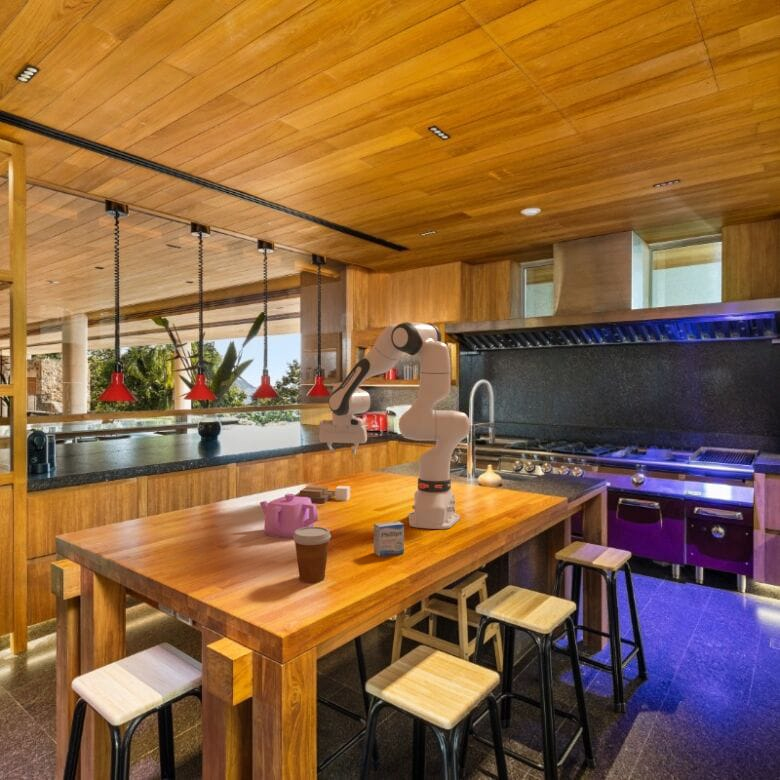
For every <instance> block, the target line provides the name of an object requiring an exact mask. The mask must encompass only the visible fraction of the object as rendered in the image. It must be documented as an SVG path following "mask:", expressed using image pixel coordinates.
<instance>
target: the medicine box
mask: <svg viewBox="0 0 780 780" xmlns="http://www.w3.org/2000/svg"><path fill="white" fill-rule="evenodd" d="M373 553H374V554H375V555H377V556H378V557H379V558H383V557H382V556H384V557H390V556H396V554H397V555H402V554H404V553H405V525H404V523H403V522H402V521H399V520H397V521H388V522H378V523H377V522H376V523H374V524H373ZM389 555H390V556H389Z"/></svg>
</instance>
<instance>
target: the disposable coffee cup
mask: <svg viewBox="0 0 780 780" xmlns="http://www.w3.org/2000/svg"><path fill="white" fill-rule="evenodd" d="M331 537H332V535H331V533H330V530H329V528H326V527H323V526H313V527H304V528H300V529H297V530H296V531H295V534H294V536H293V538H292V539H293V541H294V542H293V543H294V545H295V551H296V552H295V553H296V561H297V569H298V575H299V581H301V582H303V583H307V584H308V583H309V584H313V583H315V584H316V583H318V582H319V583H320V582H322V581H324V580H325V577H326V568H327V560H328V552H329V545H330V540H331Z"/></svg>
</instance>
